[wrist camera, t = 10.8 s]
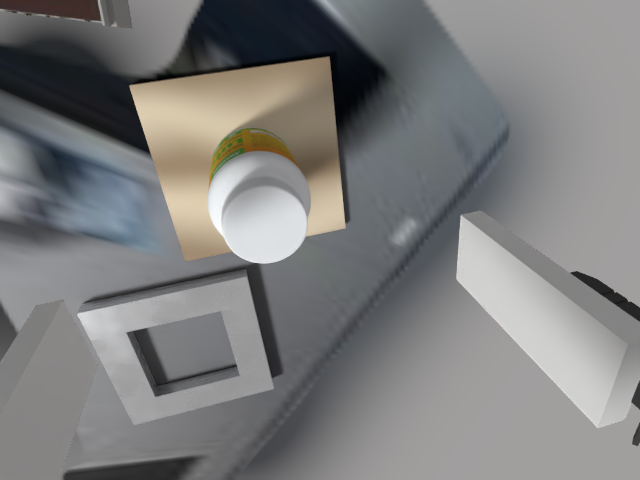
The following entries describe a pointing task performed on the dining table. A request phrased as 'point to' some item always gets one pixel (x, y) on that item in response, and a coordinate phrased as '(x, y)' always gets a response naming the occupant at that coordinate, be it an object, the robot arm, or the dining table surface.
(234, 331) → the grey square frame
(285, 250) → the supplement bottle
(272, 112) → the oak pad
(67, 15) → the food container
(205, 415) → the dining table surface
